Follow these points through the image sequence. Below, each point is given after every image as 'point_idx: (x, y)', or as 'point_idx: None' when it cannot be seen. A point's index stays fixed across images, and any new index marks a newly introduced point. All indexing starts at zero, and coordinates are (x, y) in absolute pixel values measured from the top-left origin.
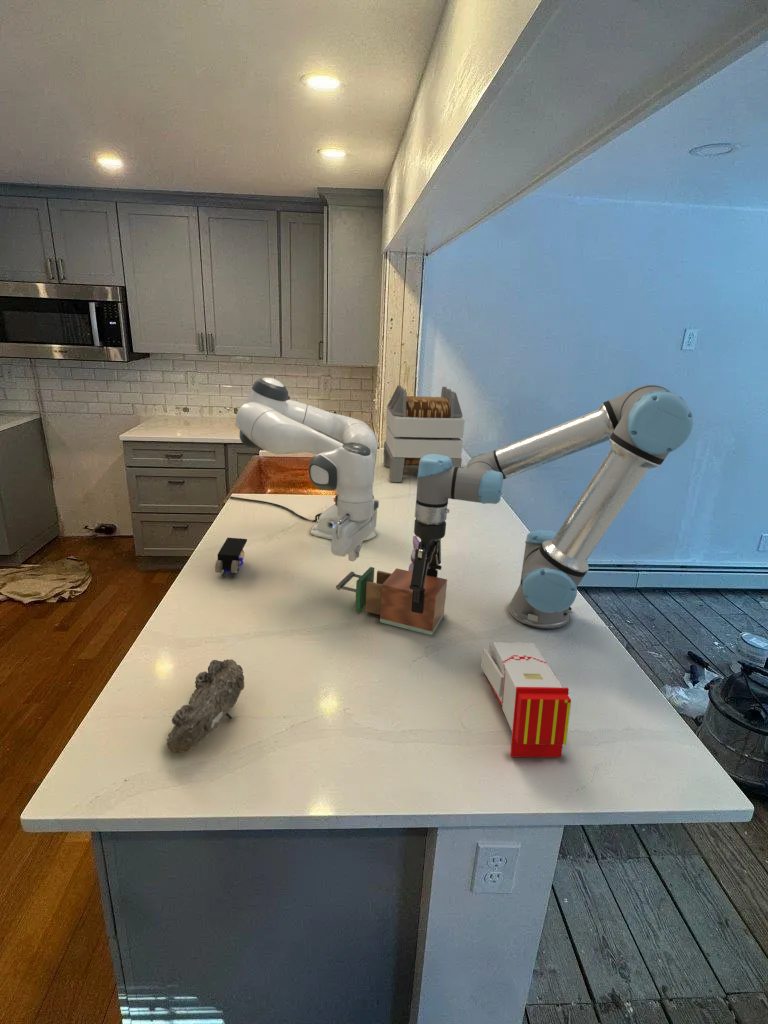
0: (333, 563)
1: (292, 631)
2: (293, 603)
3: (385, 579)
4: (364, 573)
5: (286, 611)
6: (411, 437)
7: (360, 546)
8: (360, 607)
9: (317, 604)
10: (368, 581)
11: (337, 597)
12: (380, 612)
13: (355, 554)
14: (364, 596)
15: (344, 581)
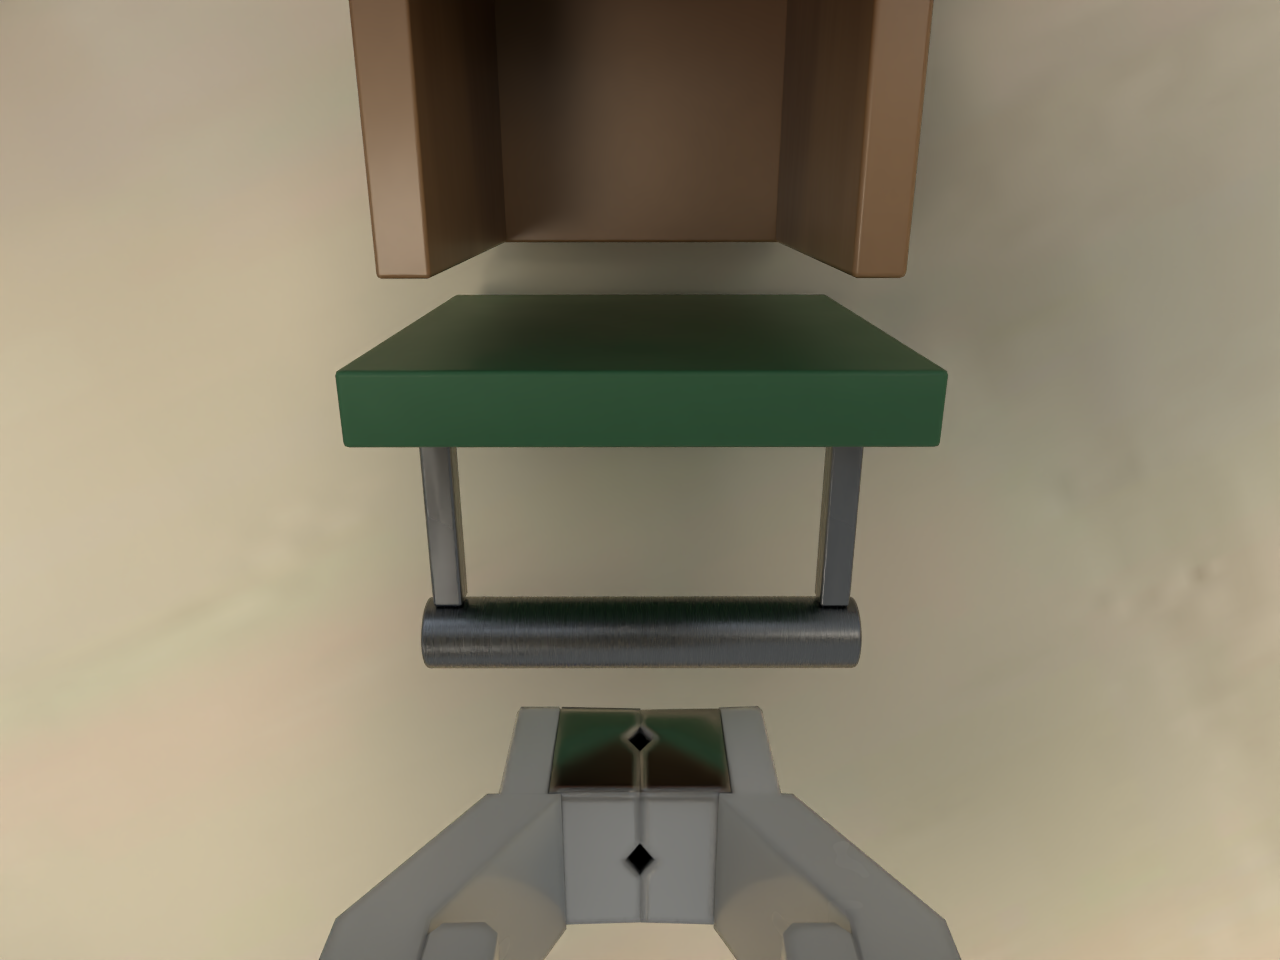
0: (16, 888)
1: (1230, 679)
2: None
3: (441, 100)
4: (633, 435)
5: (954, 840)
6: None
7: (440, 881)
8: (811, 300)
9: (759, 700)
10: (864, 261)
11: None
12: None
13: (750, 800)
14: (716, 313)
15: (724, 628)
